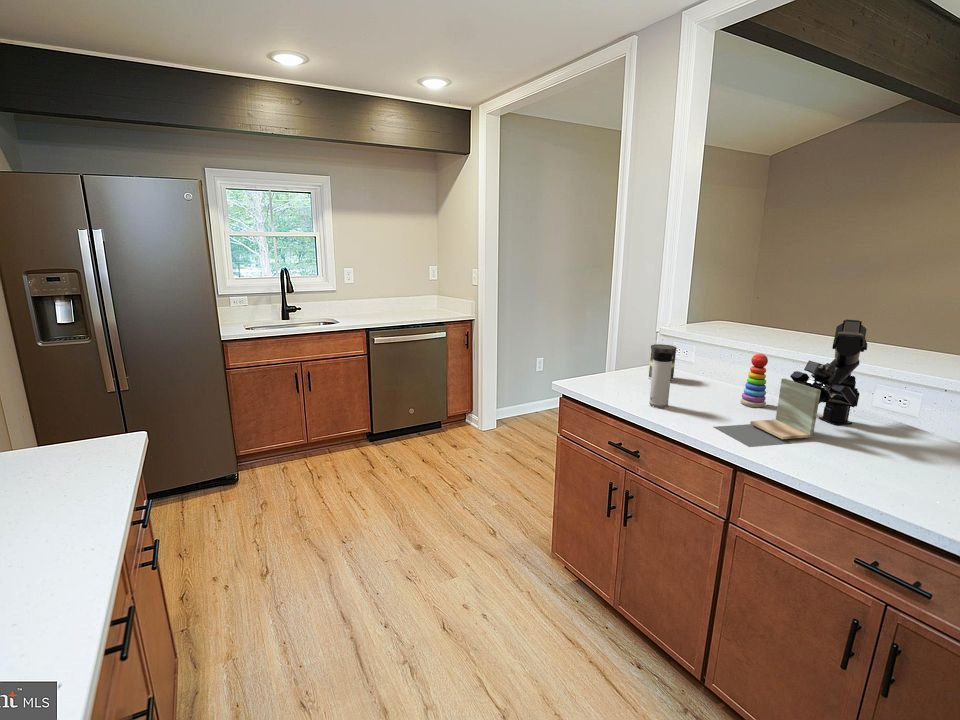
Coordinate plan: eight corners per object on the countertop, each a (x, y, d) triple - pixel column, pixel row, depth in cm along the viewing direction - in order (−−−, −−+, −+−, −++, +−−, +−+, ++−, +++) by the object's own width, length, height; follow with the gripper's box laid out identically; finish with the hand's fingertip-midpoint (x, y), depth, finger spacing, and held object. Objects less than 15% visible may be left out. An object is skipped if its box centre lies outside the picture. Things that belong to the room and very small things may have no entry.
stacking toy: (763, 409, 169) (771, 357, 165) (738, 405, 174) (744, 354, 170) (766, 404, 175) (774, 353, 171) (742, 400, 180) (748, 350, 176)
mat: (751, 424, 155) (752, 424, 155) (792, 444, 139) (792, 443, 139) (712, 427, 152) (712, 426, 152) (749, 447, 137) (749, 446, 137)
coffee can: (675, 382, 204) (679, 349, 201) (650, 381, 206) (653, 348, 202) (670, 376, 214) (673, 344, 211) (646, 375, 216) (648, 343, 212)
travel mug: (648, 407, 172) (653, 351, 167) (649, 402, 178) (654, 348, 173) (667, 409, 169) (672, 353, 165) (668, 404, 175) (673, 349, 171)
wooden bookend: (778, 423, 155) (785, 378, 151) (812, 439, 142) (820, 390, 139) (749, 425, 153) (756, 380, 150) (782, 441, 140) (789, 392, 137)
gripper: (799, 345, 153) (764, 381, 153) (854, 359, 135) (814, 399, 136) (817, 369, 156) (782, 403, 157) (873, 384, 138) (833, 424, 139)
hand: (801, 406), depth 147 cm, fingers closed
